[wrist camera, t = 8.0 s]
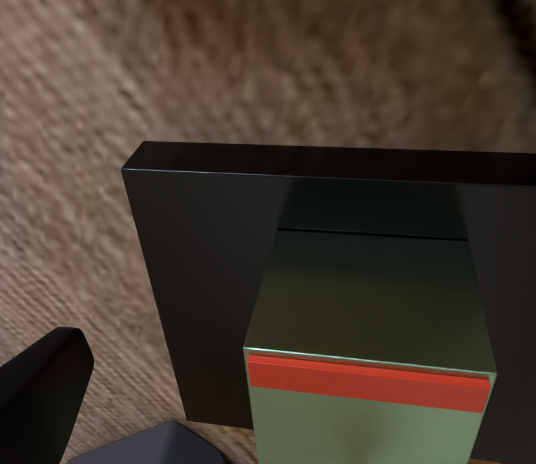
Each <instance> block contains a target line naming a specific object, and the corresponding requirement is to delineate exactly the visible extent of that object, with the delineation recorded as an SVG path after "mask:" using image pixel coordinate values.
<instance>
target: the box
mask: <svg viewBox="0 0 536 464" xmlns="http://www.w3.org/2000/svg"><path fill="white" fill-rule="evenodd" d="M243 351H244V359H245V366H246V374H247V381H248V389H249V396H250V404H251V411H252V419H253V426H254V434H255V441H256V449H257V456H258V464H468V461H469V458H470V455H471V452H472V449H473V446H474V443H475V440H476V437H477V434H478V431H479V428H480V425H481V422H482V419H483V416H484V413H485V410H486V407H487V404H488V401H489V398H490V395H491V392H492V389H493V386H494V383H495V380H496V377H497V371H496V366H495V361H494V357H493V352H492V347H491V342H490V338H489V333H488V328H487V324H486V319H485V314H484V310H483V305H482V300H481V296H480V291H479V286H478V282H477V277H476V272H475V268H474V263H473V258H472V253H471V249H470V244H469V242H467V241H450V240H433V239H417V238H400V237H383V236H367V235H350V234H333V233H317V232H300V231H283V230H276V232H275V236H274V239H273V243H272V246H271V250H270V253H269V257H268V261H267V264H266V268H265V271H264V275H263V278H262V282H261V286H260V289H259V293H258V296H257V300H256V303H255V307H254V311H253V314H252V318H251V321H250V325H249V328H248V332H247V336H246V339H245V343H244V346H243Z"/></svg>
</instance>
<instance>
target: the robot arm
mask: <svg viewBox="0 0 536 464" xmlns="http://www.w3.org/2000/svg"><path fill="white" fill-rule="evenodd" d="M93 367H94V358H93V354H92V352H91V350H90V347H89V345H88V343H87V340H86V338H85V336H84V334H83V332H82V331H81V330H80V329H79V328H73V327H57V328H55V329H54V330H52V331H51V332H49V333H48V334H46V335H45V336H44V337H42V338H41V339H39V340H38V341H36V342H35V343H34V344H32V345H31V346H29V347H28V348H27V349H25V350H24V351H22V352H21V353H20V354H18V355H17V356H15V357H14V358H12V359H11V360H10V361H8V362H7V363H5V364H4V365H3V366H1V367H0V464H59V463H60V461H61V459H62V456H63V454H64V452H65V449H66V447H67V444H68V441H69V439H70V436H71V433H72V430H73V427H74V424H75V421H76V418H77V415H78V413H79V410H80V407H81V404H82V401H83V398H84V395H85V392H86V389H87V386H88V383H89V380H90V377H91V374H92V371H93Z"/></svg>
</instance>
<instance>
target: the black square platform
mask: <svg viewBox="0 0 536 464" xmlns="http://www.w3.org/2000/svg"><path fill="white" fill-rule="evenodd" d="M121 172H122V176H123V180H124V184H125V187H126V191H127V195H128V199H129V203H130V206H131V210H132V214H133V218H134V221H135V225H136V229H137V233H138V237H139V240H140V244H141V248H142V252H143V256H144V259H145V263H146V267H147V271H148V275H149V278H150V282H151V286H152V290H153V293H154V297H155V301H156V305H157V309H158V312H159V316H160V320H161V324H162V328H163V331H164V335H165V339H166V343H167V347H168V350H169V354H170V358H171V362H172V365H173V369H174V373H175V377H176V381H177V384H178V388H179V392H180V396H181V400H182V403H183V407H184V411H185V415H186V419H187V421H193V422H201V423H208V424H216V425H223V426H231V427H238V428H246V429H253V430H254V426H253V419H252V411H251V404H250V396H249V389H248V381H247V374H246V366H245V359H244V351H243V346H244V343H245V339H246V336H247V332H248V328H249V325H250V321H251V318H252V314H253V311H254V307H255V303H256V300H257V296H258V293H259V289H260V286H261V282H262V278H263V275H264V271H265V268H266V264H267V261H268V257H269V253H270V250H271V246H272V243H273V239H274V236H275V232H276V230H283V231H300V232H317V233H333V234H350V235H367V236H383V237H400V238H417V239H433V240H450V241H467V242H469V244H470V249H471V253H472V258H473V263H474V268H475V272H476V277H477V282H478V286H479V291H480V296H481V300H482V305H483V310H484V314H485V319H486V324H487V328H488V333H489V338H490V342H491V347H492V352H493V357H494V361H495V366H496V371H497V377H496V380H495V383H494V386H493V389H492V392H491V395H490V398H489V401H488V404H487V407H486V410H485V413H484V416H483V419H482V422H481V425H480V428H479V431H478V434H477V437H476V440H475V443H474V446H473V449H472V452H471V455H470V458H471V459H478V460H486V461H493V462H501V463H508V464H536V153H504V152H472V151H441V150H409V149H377V148H346V147H314V146H282V145H251V144H219V143H187V142H155V141H143V142H142V143H141V145H140V146H139V147H138V148H137V149H136V151H135V152H134V153H133V154H132V156H131V157H130V158H129V159H128V161H127V162H126V163H125V164H124V166H123V167H122V168H121Z"/></svg>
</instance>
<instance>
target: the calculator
mask: <svg viewBox="0 0 536 464" xmlns="http://www.w3.org/2000/svg"><path fill="white" fill-rule="evenodd" d="M66 464H226V463H225V461H224V459H223V457H222V456H221V454H220V452H219V450H218V449H216V448H215V447H213V446H212V445H210V444H209V443H207V442H206V441H204V440H203V439H202V438H200V437H199V436H197V435H196V434H194V433H193V432H191V431H190V430H188V429H187V428H185V427H184V426H182V425H181V424H179V423H177V422H175V421H168V422H165V423H163V424H160V425H157V426H155V427H152V428H150V429H147V430H145V431H142V432H139V433H137V434H134V435H132V436H129V437H126V438H124V439H121V440H119V441H116V442H114V443H111V444H108V445H106V446H103V447H101V448H98V449H96V450H93V451H90V452H88V453H85V454H83V455H80V456H78V457H75V458H72V459H70V460H68V461H67V463H66Z"/></svg>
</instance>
